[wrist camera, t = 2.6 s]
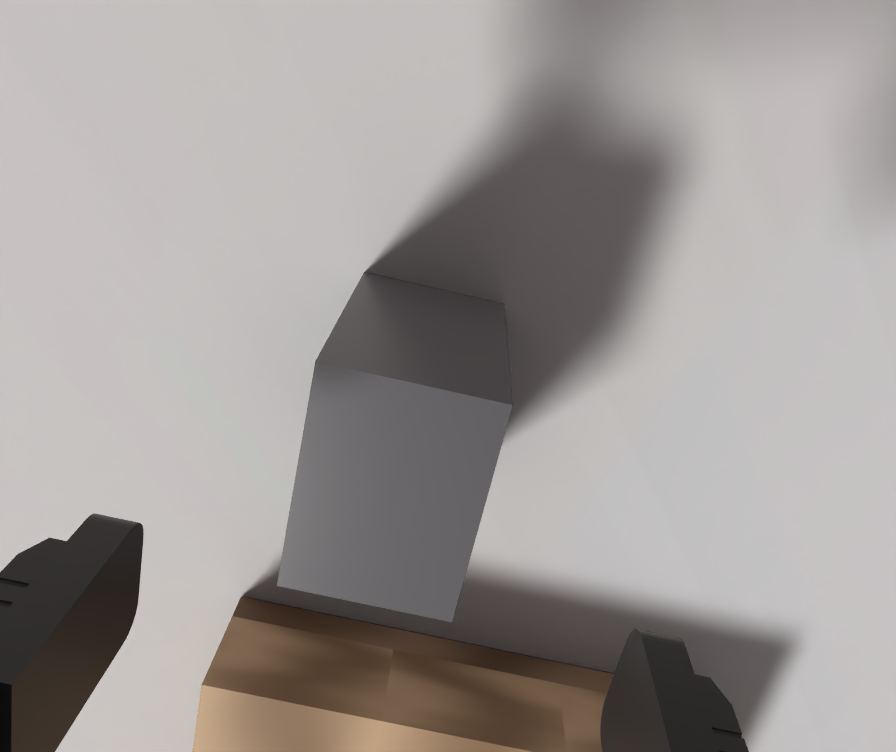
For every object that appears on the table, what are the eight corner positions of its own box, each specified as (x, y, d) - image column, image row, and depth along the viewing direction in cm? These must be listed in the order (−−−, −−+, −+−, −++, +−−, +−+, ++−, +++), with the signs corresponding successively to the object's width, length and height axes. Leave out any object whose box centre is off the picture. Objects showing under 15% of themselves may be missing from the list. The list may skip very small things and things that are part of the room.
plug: (332, 444, 24) (276, 586, 18) (364, 272, 22) (315, 361, 16) (460, 471, 24) (452, 622, 18) (503, 303, 22) (512, 405, 16)
